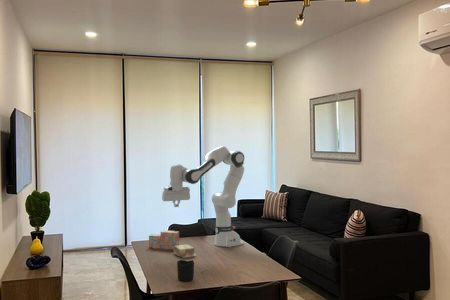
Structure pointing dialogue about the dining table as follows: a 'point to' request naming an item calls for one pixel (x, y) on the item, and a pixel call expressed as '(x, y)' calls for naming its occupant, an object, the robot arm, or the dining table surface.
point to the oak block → (184, 250)
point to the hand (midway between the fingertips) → (176, 206)
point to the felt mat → (189, 256)
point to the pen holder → (185, 270)
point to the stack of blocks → (164, 240)
